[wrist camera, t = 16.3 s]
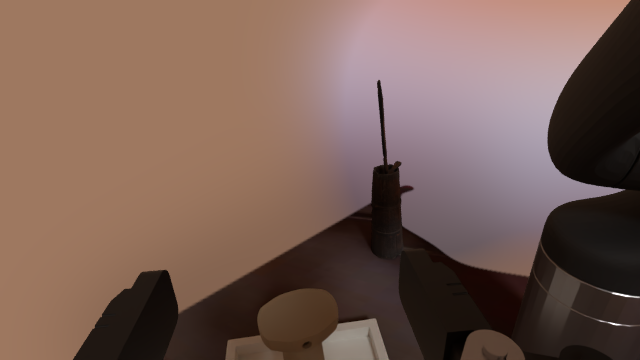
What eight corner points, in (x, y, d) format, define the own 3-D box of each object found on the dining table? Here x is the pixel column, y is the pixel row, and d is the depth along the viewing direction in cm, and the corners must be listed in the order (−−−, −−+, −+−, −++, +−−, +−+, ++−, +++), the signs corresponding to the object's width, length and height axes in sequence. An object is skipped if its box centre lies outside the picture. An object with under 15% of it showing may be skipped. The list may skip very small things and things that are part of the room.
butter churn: (400, 224, 63) (409, 67, 50) (431, 255, 55) (451, 78, 42) (354, 236, 61) (351, 75, 48) (380, 271, 53) (384, 89, 40)
